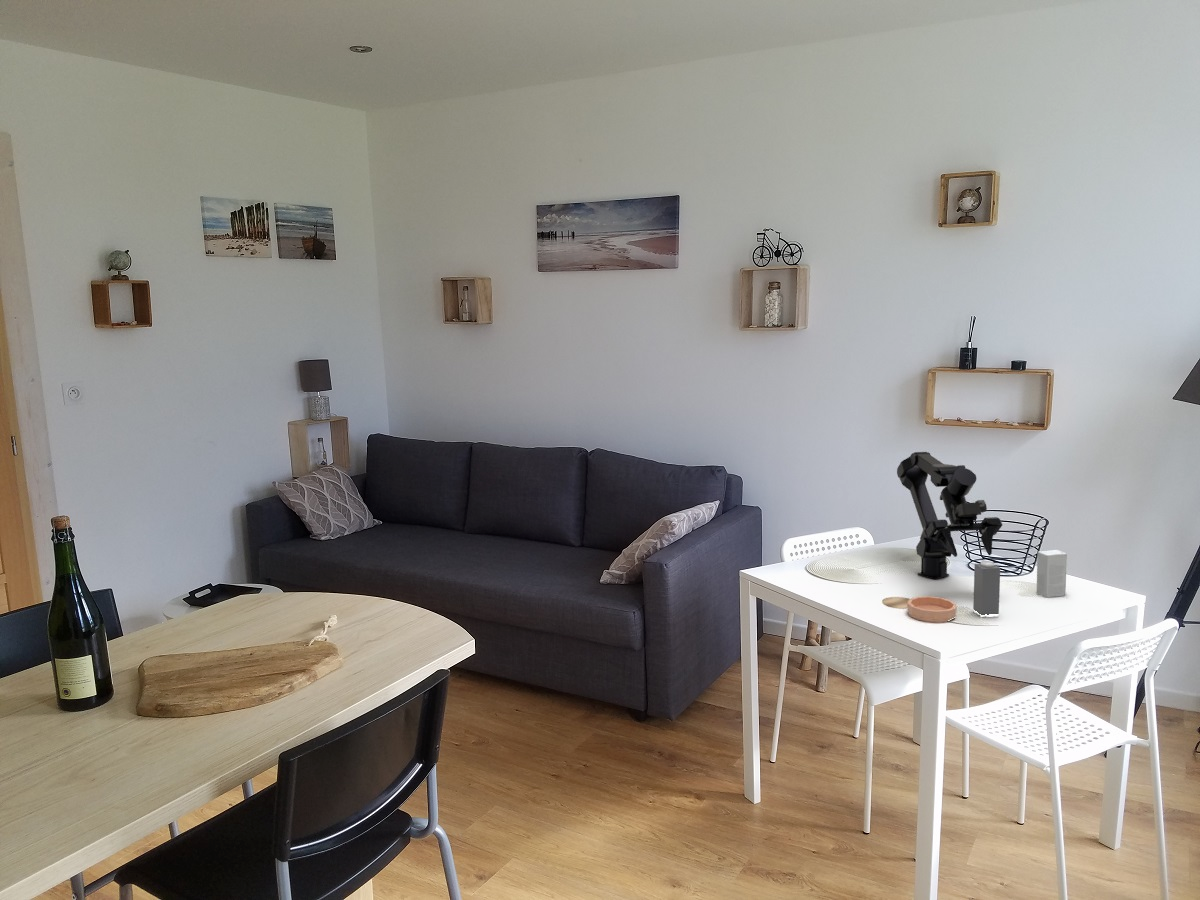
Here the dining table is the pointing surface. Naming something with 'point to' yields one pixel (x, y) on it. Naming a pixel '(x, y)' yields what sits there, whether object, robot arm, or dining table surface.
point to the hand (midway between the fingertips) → (973, 555)
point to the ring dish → (931, 609)
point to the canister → (986, 588)
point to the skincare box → (1051, 573)
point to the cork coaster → (896, 602)
